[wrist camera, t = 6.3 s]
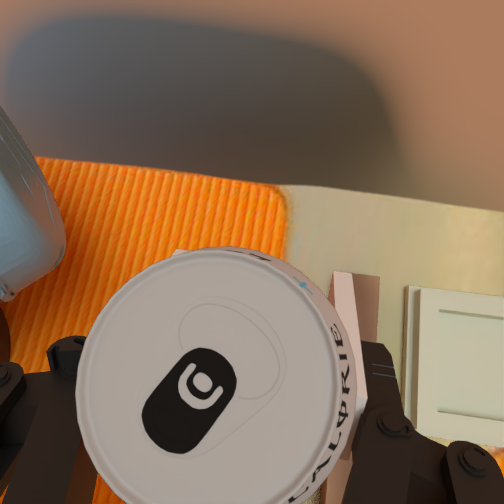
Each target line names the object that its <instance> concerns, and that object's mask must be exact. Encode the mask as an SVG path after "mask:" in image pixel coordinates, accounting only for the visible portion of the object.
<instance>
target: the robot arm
mask: <svg viewBox="0 0 504 504" xmlns="http://www.w3.org/2000/svg"><path fill="white" fill-rule="evenodd" d="M65 250H66V232H65V227H64V223H63V220H62V217H61V214H60V211H59V208H58V206H57V203H56V201H55V198H54V196H53V194H52V192H51V189H50V187H49V185H48V183H47V181H46V179H45V177H44V175H43V173H42V171H41V169H40V168H39V166H38V164H37V162H36V160H35V158H34V157H33V155H32V153H31V152H30V150H29V148H28V147H27V145H26V143H25V142H24V140H23V138H22V137H21V135H20V134H19V132H18V131H17V129H16V128H15V126H14V125H13V123H12V122H11V120H10V119H9V117H8V116H7V115H6V113H5V112H4V110H3V109H2V107H1V106H0V304H1V303H3V302H7V301H8V302H10V301H11V300H13V299H14V298H15V297H16V296H17V295H18V292H19V291H21V290H23V289H24V288H26V287H27V286H29V285H31V284H32V283H34V282H35V281H37V280H39V279H40V278H42V277H43V276H45V275H47V274H48V273H50V272H51V271H53V270H54V269H55V268H56V267H57V266H58V265H59V263H60V262H61V261H62V259H63V256H64V254H65ZM184 252H188V251H187V250H180V249H176V250H175V252H174V253H173V254H172V256H174V255H178V254H182V253H184ZM328 300H329V301H330V303H331V304H332V305H333V307H334V308H335V309H336V311H337V313H338V315H339V317H340V319H341V321H342V323H343V325H344V327H345V329H346V331H347V334H348V337H349V341H350V344H351V348H352V351H353V355H354V358H355V367H356V378H357V397H356V407H355V417H354V420H353V424H352V427H351V430H350V433H349V437H348V440H347V443H346V446H345V448H344V450H343V452H342V454H341V456H340V457H339V459H342V460H347V461H349V458H350V454H351V451H352V461H353V464H352V468H351V471H350V474H349V477H348V481H347V484H346V487H345V492H344V495H343V499H342V502H341V504H504V478H503V475H502V472H501V469H500V467H499V466H498V464H497V462H496V460H495V459H494V458H493V457H492V456H491V455H490V454H489V453H488V452H487V451H486V450H484V449H483V448H481V447H480V446H478V445H476V444H474V443H471V442H468V441H459V440H457V441H455V442H452V443H450V445H449V446H448V447H446V446H444V445H441V444H439V443H437V442H435V441H433V440H430V439H428V438H427V437H425V436H423V435H421V434H420V433H419V432H417V431H416V430H415V428H414V427H413V425H412V423H411V421H410V420H409V419H408V418H407V417H406V416H405V414H404V411H403V407H402V402H401V398H400V393H399V388H398V384H397V379H396V375H395V370H394V365H393V361H392V356H391V354H390V353H389V351H388V350H387V349H386V347H385V346H384V345H383V344H381V343H374V342H368V341H362V340H360V334H359V327H358V319H357V311H356V303H355V295H354V287H353V279H352V273H345V272H338V271H333V275H332V280H331V285H330V290H329V295H328ZM86 338H87V337H85V336H69V337H65V338H63V339H60V340H58V341H56V342H55V343H53V344H52V345H51V346H50V347H49V349H48V350H47V351H46V353H47V357H48V361H49V366H50V370H51V371H48V372H39V373H27V374H24V372H23V368H22V367H21V366H20V365H19V364H16V363H13V362H8V361H9V354H10V338H9V331H8V326H7V322H6V319H5V317H4V315H3V312H2V310H1V309H0V497H1V495H2V494H3V492H4V490H5V489H6V487H7V486H8V488H7V491H6V493H5V496H4V499H3V501H2V504H92V500H93V495H94V489H95V484H96V479H97V473H98V472H97V470H96V468H95V466H94V464H93V462H92V460H91V458H90V456H89V454H88V452H87V450H86V448H85V446H84V442H83V438H82V435H81V431H80V427H79V424H78V420H77V408H76V395H75V391H76V381H77V372H78V364H79V361H80V358H81V354H82V351H83V347H84V344H85V340H86ZM9 482H10V483H9ZM8 484H9V485H8Z"/></svg>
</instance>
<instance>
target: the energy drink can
mask: <svg viewBox="0 0 504 504" xmlns="http://www.w3.org/2000/svg"><path fill="white" fill-rule="evenodd" d="M75 395H76V408H77V420H78V424H79V427H80V431H81V435H82V438H83V442H84V446H85V448H86V450H87V452H88V454H89V456H90V458H91V460H92V462H93V464H94V466H95V468H96V470H97V472H98V473H99V474H100V476H101V477H102V478H103V479H104V481H105V482H106V483H107V484H108V486H109V487H110V488H111V489H112V491H113V492H114V493H115V494H116V495H117V496H118V497H120V498H121V499H122V500H123V501H125V502H126V503H127V504H302V503H303V502H304V501H306V500H307V499H308V498H309V497H311V496H312V495H313V494H314V493H315V491H316V490H317V489H318V488H319V487H320V485H321V484H322V483H323V482H324V481H325V479H326V478H327V477H328V476H329V475H330V473H331V472H332V471H333V469H334V467H335V465H336V463H337V461H338V459H339V457H340V456H341V454H342V452H343V450H344V448H345V446H346V443H347V440H348V437H349V433H350V430H351V427H352V424H353V420H354V417H355V407H356V397H357V378H356V367H355V358H354V355H353V351H352V348H351V344H350V341H349V337H348V334H347V331H346V329H345V327H344V325H343V323H342V321H341V319H340V317H339V315H338V313H337V311H336V309H335V308H334V307H333V305H332V304H331V303H330V301H329V300H328V299H327V297H326V296H325V295H324V294H323V292H322V291H321V290H320V288H319V287H317V286H316V285H315V284H314V283H313V282H312V281H311V280H310V279H309V278H307V277H306V276H305V275H304V274H303V273H302V272H301V271H299V270H297V269H296V268H294V267H292V266H291V265H289V264H287V263H286V262H284V261H282V260H281V259H279V258H276V257H273V256H271V255H268V254H265V253H262V252H260V251H257V250H252V249H245V248H239V247H232V246H229V247H206V248H202V249H197V250H193V251H188V252H184V253H182V254H178V255H174V256H171V257H169V258H166V259H164V260H162V261H159V262H157V263H155V264H152V265H150V266H149V267H147V268H146V269H144V270H143V271H141V272H140V273H138V274H137V275H135V276H134V277H132V278H131V279H130V280H129V281H127V282H126V283H125V284H124V285H123V286H122V287H121V288H120V289H119V290H118V291H117V292H116V293H115V294H114V295H113V296H112V297H111V298H110V300H109V301H108V303H107V304H106V305H105V307H104V308H103V309H102V311H101V312H100V313H99V315H98V316H97V318H96V320H95V322H94V324H93V326H92V328H91V330H90V332H89V334H88V336H87V338H86V340H85V344H84V347H83V351H82V354H81V358H80V361H79V364H78V372H77V381H76V391H75Z"/></svg>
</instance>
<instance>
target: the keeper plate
mask: <svg viewBox="0 0 504 504" xmlns="http://www.w3.org/2000/svg"><path fill="white" fill-rule="evenodd" d="M401 402H402V407H403V411H404V414H405V416H406V417H407V418H408V419H409V420H410V421H411V423H412V425H413V427H414V428H415V430H416V431H417V432H419V433H420V434H421V435H424V436H430V437H437V438H444V439H450V440H459V441H468V442H471V443H477V444H483V445H490V446H497V447H503V448H504V297H501V296H492V295H484V294H476V293H467V292H459V291H451V290H442V289H434V288H426V287H417V286H407V287H405V311H404V337H403V364H402V391H401Z"/></svg>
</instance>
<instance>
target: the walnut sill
mask: <svg viewBox="0 0 504 504" xmlns="http://www.w3.org/2000/svg"><path fill="white" fill-rule="evenodd" d="M352 279H353V287H354V295H355V303H356V311H357V319H358V327H359V334H360V340H362V341H368V342H374V343H376V340H377V322H378V303H379V285H380V277H378V276H370V275H362V274H353V273H352ZM352 464H353V461H352V451H351V454H350V458H349V461H347V460H342V459H338V461H337V463H336V465H335V467H334V469H333V471H332V472H331V473H330V475H329V476H328V477H327V478H326V479H325V481H324V482H323V483H322V484H321V496H320V504H341V502H342V499H343V495H344V492H345V487H346V484H347V481H348V477H349V474H350V471H351V468H352Z"/></svg>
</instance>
